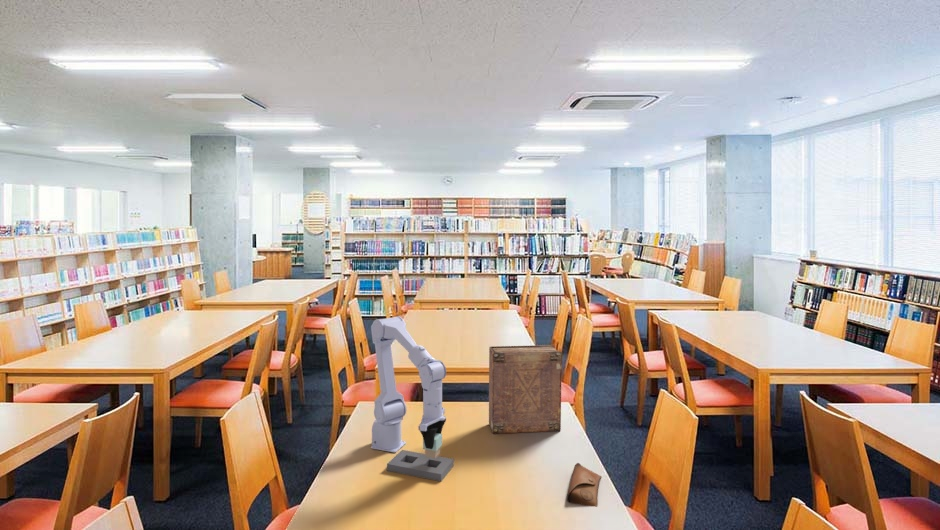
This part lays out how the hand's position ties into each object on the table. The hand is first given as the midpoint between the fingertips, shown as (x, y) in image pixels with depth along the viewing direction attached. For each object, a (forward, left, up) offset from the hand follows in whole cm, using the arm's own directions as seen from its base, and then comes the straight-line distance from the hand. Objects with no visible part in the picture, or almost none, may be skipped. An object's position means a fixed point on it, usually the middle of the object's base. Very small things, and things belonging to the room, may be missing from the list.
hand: (432, 444), depth 149 cm
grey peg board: (-4, 0, -8) cm, 9 cm away
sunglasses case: (+45, +6, -9) cm, 47 cm away
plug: (0, 0, -3) cm, 3 cm away
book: (+19, +41, -8) cm, 46 cm away
